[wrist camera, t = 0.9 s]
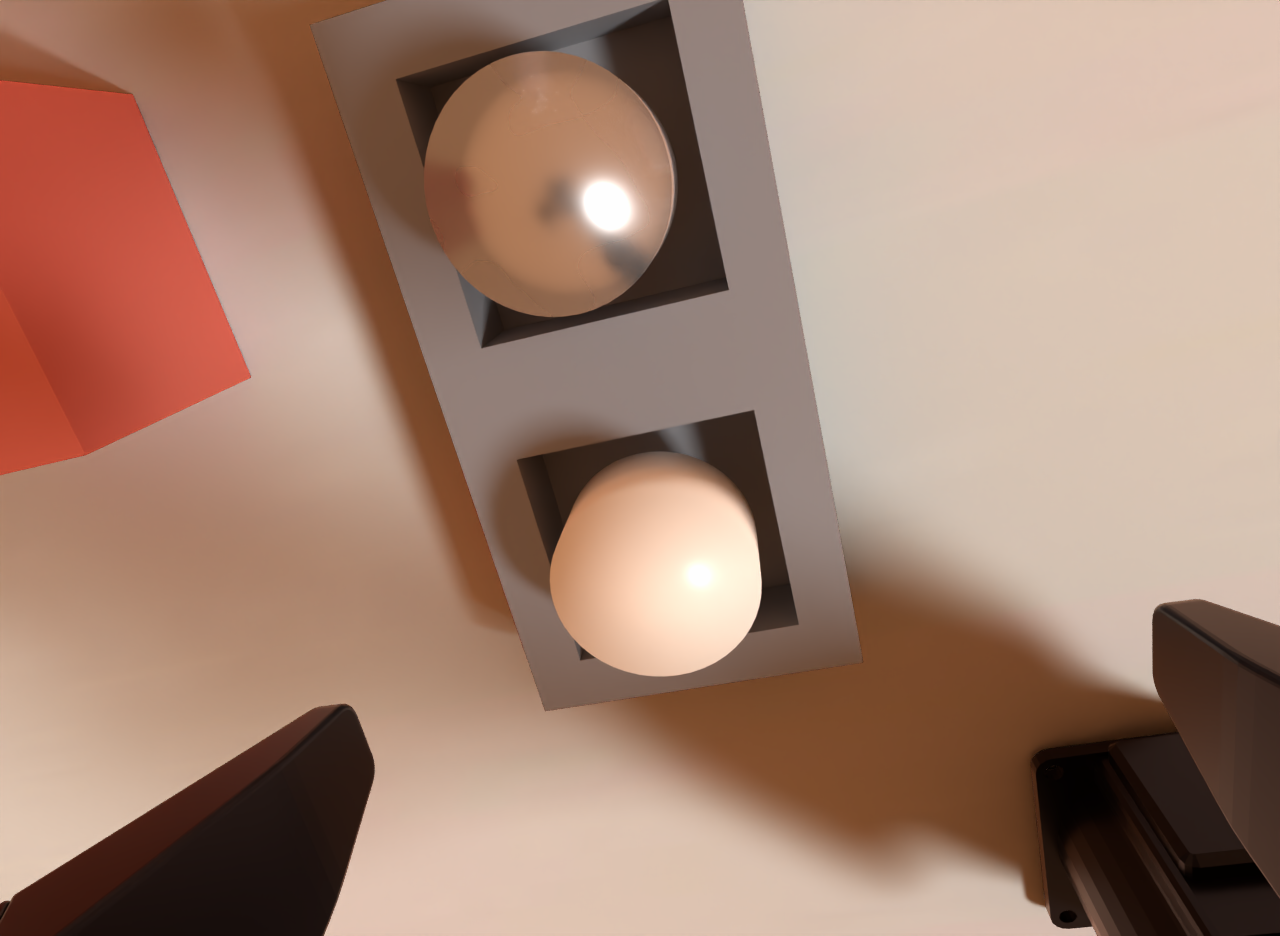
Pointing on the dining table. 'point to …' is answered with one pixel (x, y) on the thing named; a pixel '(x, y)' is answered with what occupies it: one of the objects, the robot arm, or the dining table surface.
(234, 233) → the dining table surface
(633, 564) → the cream switch
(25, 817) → the dining table surface
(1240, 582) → the dining table surface
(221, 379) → the cap
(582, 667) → the switch box
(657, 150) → the chrome round knob
